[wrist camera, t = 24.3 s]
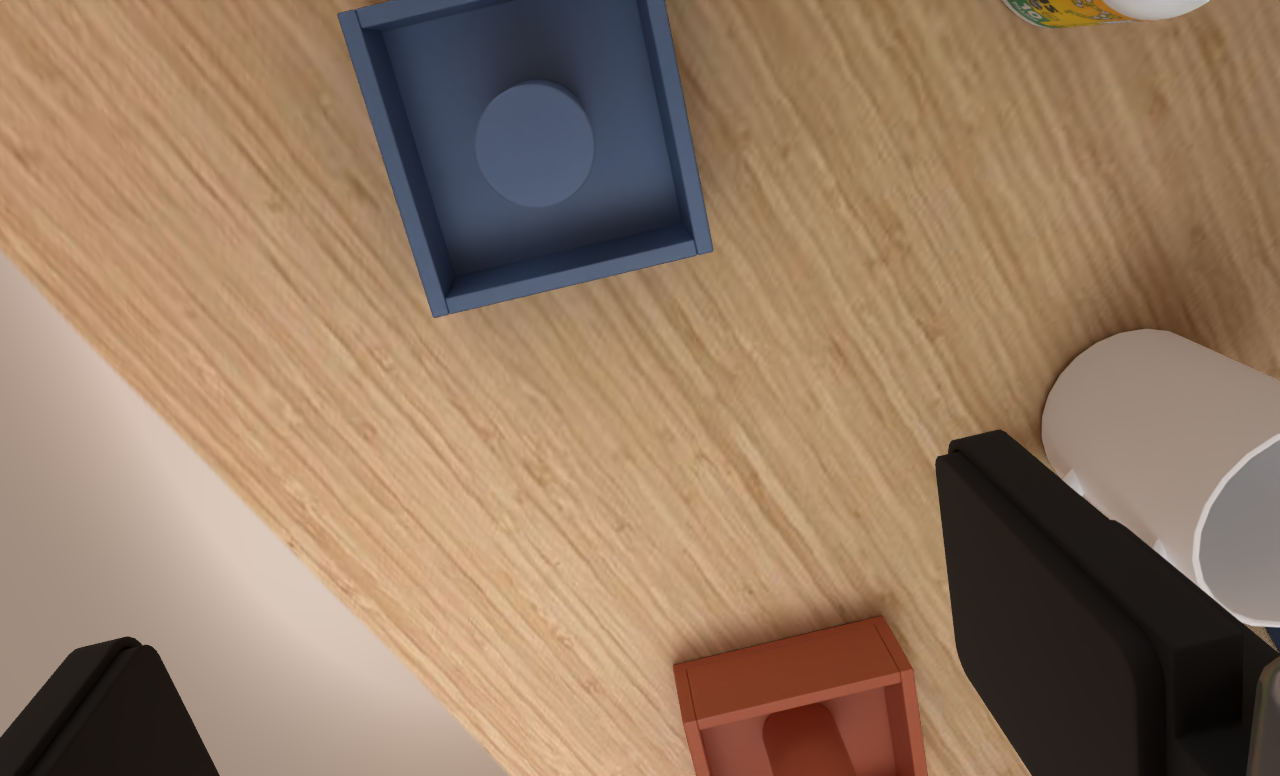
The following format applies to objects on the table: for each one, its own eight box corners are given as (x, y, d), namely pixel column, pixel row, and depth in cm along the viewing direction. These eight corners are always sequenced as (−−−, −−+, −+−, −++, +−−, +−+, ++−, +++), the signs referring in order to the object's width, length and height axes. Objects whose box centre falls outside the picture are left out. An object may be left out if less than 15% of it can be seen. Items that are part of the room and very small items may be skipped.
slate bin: (446, 291, 36) (433, 318, 32) (362, 18, 32) (336, 13, 28) (698, 231, 36) (714, 251, 32) (642, -48, 32) (653, -62, 28)
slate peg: (506, 189, 34) (492, 220, 27) (479, 91, 33) (458, 99, 26) (599, 167, 34) (608, 193, 27) (576, 68, 33) (579, 70, 26)
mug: (1179, 292, 38) (1394, 373, 28) (1233, 437, 41) (1446, 558, 31) (922, 434, 39) (1041, 559, 30) (990, 566, 42) (1120, 721, 32)
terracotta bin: (712, 824, 46) (726, 892, 42) (672, 664, 43) (682, 723, 39) (907, 779, 46) (937, 842, 42) (882, 615, 43) (913, 668, 39)
